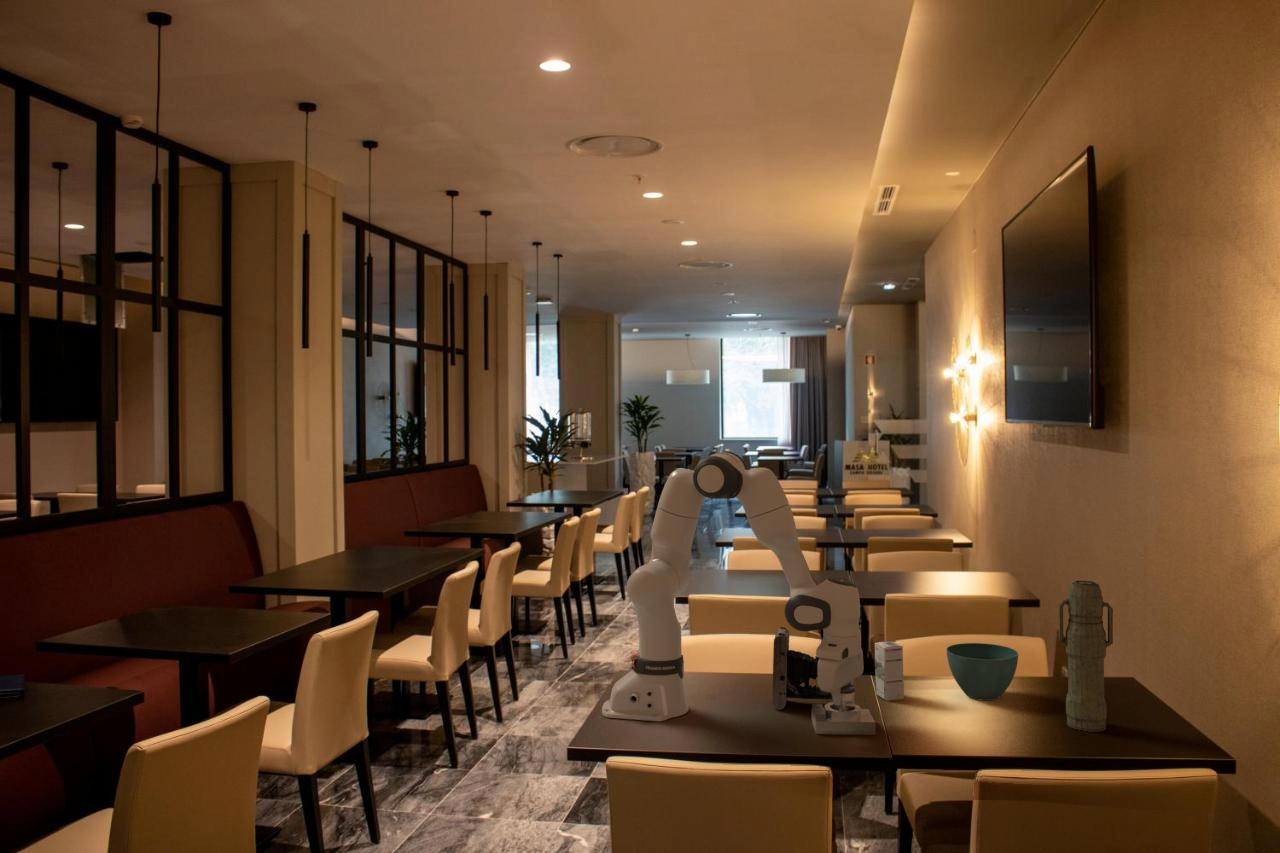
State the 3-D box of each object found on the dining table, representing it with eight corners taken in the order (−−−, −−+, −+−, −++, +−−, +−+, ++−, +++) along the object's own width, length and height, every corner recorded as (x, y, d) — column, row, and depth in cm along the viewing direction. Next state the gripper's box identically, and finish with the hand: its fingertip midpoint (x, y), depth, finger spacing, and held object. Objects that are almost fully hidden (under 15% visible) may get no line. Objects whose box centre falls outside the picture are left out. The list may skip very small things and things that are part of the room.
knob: (830, 710, 231) (830, 686, 231) (842, 706, 234) (842, 682, 234) (847, 715, 227) (846, 690, 227) (859, 711, 231) (859, 686, 231)
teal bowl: (954, 705, 247) (954, 658, 247) (940, 685, 265) (940, 641, 265) (1027, 707, 245) (1026, 660, 244) (1008, 686, 263) (1007, 642, 262)
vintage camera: (832, 715, 242) (834, 637, 242) (771, 709, 245) (773, 633, 245) (832, 704, 251) (834, 629, 251) (773, 699, 254) (775, 625, 254)
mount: (816, 734, 226) (815, 713, 226) (811, 720, 236) (811, 700, 236) (875, 734, 225) (875, 713, 225) (868, 721, 235) (868, 701, 235)
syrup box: (904, 699, 252) (904, 645, 252) (884, 701, 251) (884, 646, 251) (894, 693, 258) (893, 640, 258) (874, 695, 257) (873, 641, 256)
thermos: (1117, 733, 224) (1116, 586, 223) (1064, 730, 227) (1063, 584, 226) (1108, 721, 232) (1107, 579, 232) (1056, 718, 235) (1055, 578, 235)
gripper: (845, 634, 241) (846, 688, 242) (812, 651, 224) (813, 709, 225) (869, 638, 238) (869, 692, 238) (837, 655, 221) (838, 714, 221)
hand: (842, 701), depth 231 cm, fingers closed on knob, 4 cm apart
